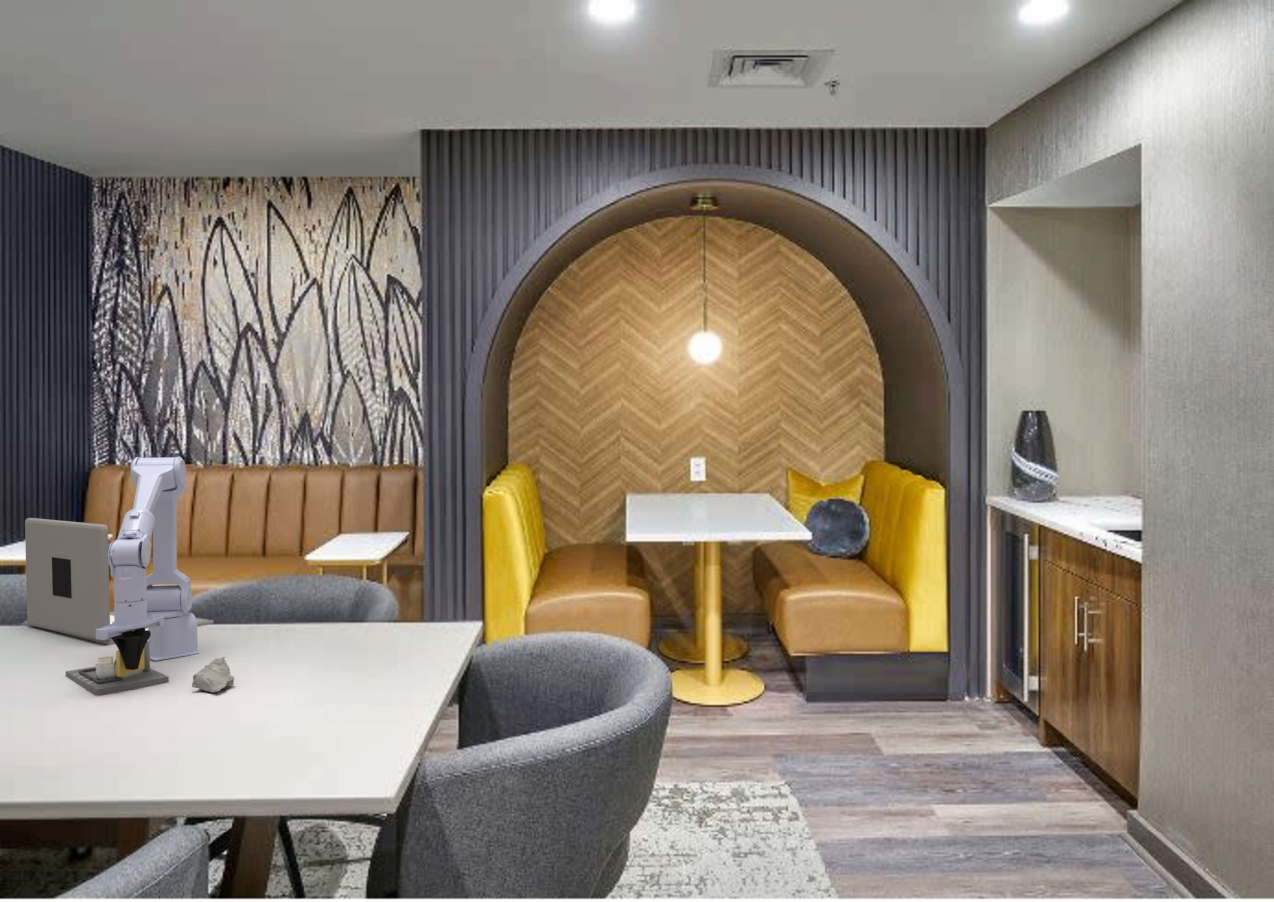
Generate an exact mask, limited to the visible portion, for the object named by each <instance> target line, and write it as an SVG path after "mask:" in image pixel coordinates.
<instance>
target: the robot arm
mask: <svg viewBox="0 0 1274 902" xmlns="http://www.w3.org/2000/svg"><path fill="white" fill-rule="evenodd" d="M130 479H131V482H132V484H133V486H134V488H135V489H136V490H135V497H134V500H133V505H132V506H133V507H132V509H130V510H128V511H126V513H125V514H124V517H123V520H122V524H121V526H120V528H119V529H120V530H119V533H118V535H117V538H116V539H115V540H114V541H112V542H110V544H109V545H108V561H109V570H110V576H111V578H112V579H113V605H114V607H113V611H114V622H112V624H110V625H108V626H105V627H102V628H99V629H96V639H99V640H106V639H108V638H110V637H112V640H113V641H114V643H115V644H114V645H115V646H116V647H117V649H118V650H119V651H120V653H121V656H122V659H123V662H124V665H125V669H127V670H135V669H138V667H139V663H140V659H141V655H142V652H143V649H144V647H145V645H146V643H147V641H150V661H151V660H152V661H153V662H158V661H163V660H169V659H175V658H181V657H187V656H194V655H198V654H199V653H200V651H198V648H199V647H198V627H197V621H196V618H197V617H196V615H195V614H194V613H192V612H190V611H191V609H192V605H193V589H192V583H191V582H192V581H191V578H190V577H189V576H188V575H186V574H185V573H184V572H181V571H180V570H179V569H178V538H177V537H178V536H177V535H178V534H177V533H178V524H177V523H178V519H177V518H178V499H179V496H181V495H183V494H185V493H186V488H187V466H186V462H185V460H184V459H183V458H182V457H181V456H175V457H173V456H172V457H171V456H170V457H140V456H137V457H134V459H133V460H132V462H131V464H130ZM151 538H152V542H151ZM151 549H152V567H153V568H152V572H151V573H150V574H148V575H147V568H148V566H149V564H150V561H151ZM195 617H196V618H195ZM147 628H148V631H145V629H147Z"/></svg>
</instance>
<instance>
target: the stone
mask: <svg viewBox="0 0 1274 902" xmlns="http://www.w3.org/2000/svg"><path fill="white" fill-rule="evenodd" d="M230 669H231V668H230V665H228V662H227V661H226V660H225V656H223V657H220V658H218V657H217V658H214V659H212V660H211V662H209V663H208V664H207V665H205V666H204V667H203V668H201V670H199V671H198V672H196V673H195V674H193V676H192V682H191V687H192V688H195V689H199V690H203V691H205V692H210V693H216V692H217V693H218V692H220V691H221V690H222V689H224V688H226V687H227V686H234V685H235V684H234V682H235V677H234V675H232V674H231V670H230Z"/></svg>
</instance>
